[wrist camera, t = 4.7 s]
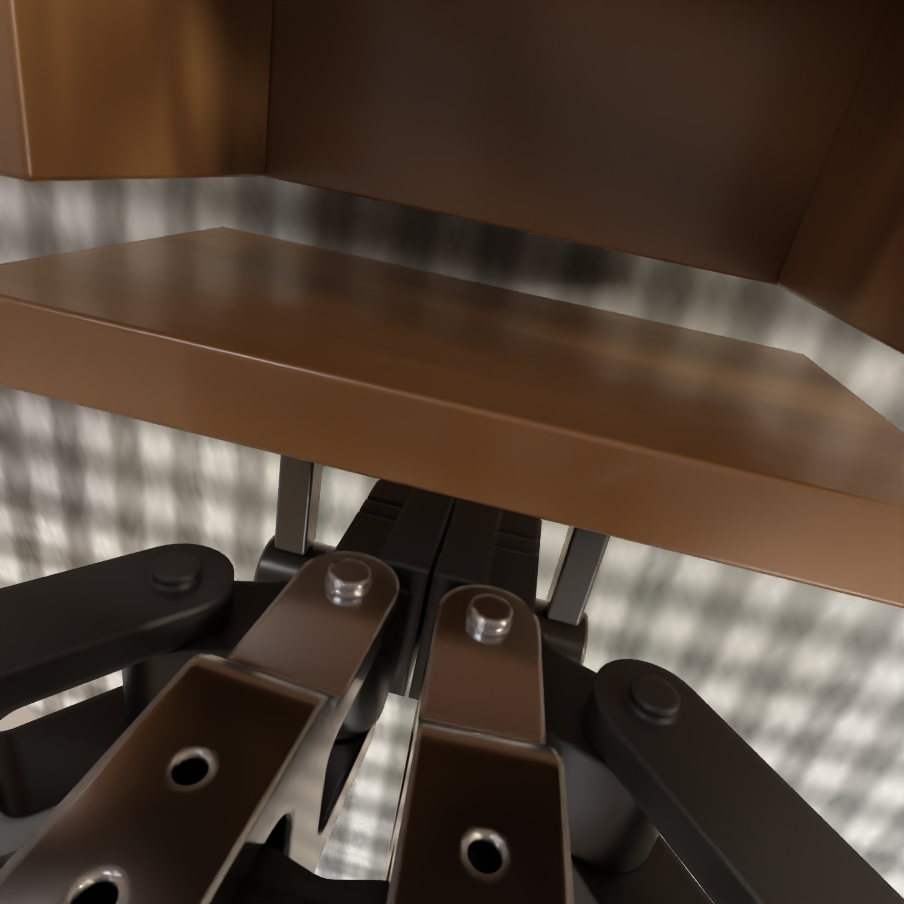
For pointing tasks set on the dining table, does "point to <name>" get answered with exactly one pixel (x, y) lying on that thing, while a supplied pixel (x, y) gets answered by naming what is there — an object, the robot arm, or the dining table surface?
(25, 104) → the drawer
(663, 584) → the dining table surface
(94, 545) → the dining table surface
